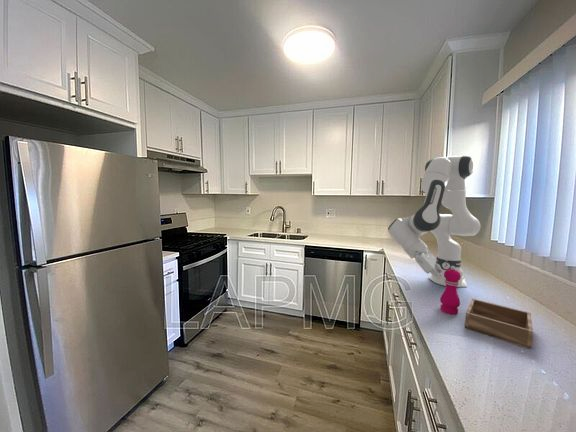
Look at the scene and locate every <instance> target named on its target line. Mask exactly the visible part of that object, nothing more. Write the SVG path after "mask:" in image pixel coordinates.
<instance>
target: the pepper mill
mask: <svg viewBox="0 0 576 432" xmlns="http://www.w3.org/2000/svg"><path fill="white" fill-rule="evenodd" d="M450 268H451V269H448V270H446V271H445V272H444V277H445V278H446V279H445V283H446V286H445V288H444V291H443V293H442V294H441V295H440V298H439V299H440V300H439V301H440V303H441V305H440V310H441V311H442V312H443V313H446V314H448V315H458V313H459V308H458V307H460V305H461V301H460V297H459V295H458V287H457V286H458V285H459V284H458V283H459V282H458V281H459V280H460V278H461V275H460V273H459V272H458V271H457V270H455V267H454V266H451V267H450Z"/></svg>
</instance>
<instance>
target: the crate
mask: <svg viewBox="0 0 576 432" xmlns="http://www.w3.org/2000/svg"><path fill="white" fill-rule="evenodd" d="M464 319H465V320H464V321H465V322H464V329H466V330H469V331H472V332H476V333H478V334H479V333H480V334H482V335H485V336H489V337H491V338H495V339H498V340H501V341H504V342H507V343H511V344H513V343H514V344H513V345H516V344H517V346H520V347H524V348H525V349H526V348H527V349H528V350H532V343H533V336H534V328H533V321H532V319H533V318H532V313H531V312H528V311H524V310H520V309H516V308H513V307H508V306H504V305H500V304H496V303H493V302H492V303H491V302H489V301H484V300H479V299H476V298H471V300H470V302H469V305H468V307H467V309H466V312H465V318H464Z"/></svg>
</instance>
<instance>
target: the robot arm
mask: <svg viewBox="0 0 576 432" xmlns="http://www.w3.org/2000/svg"><path fill="white" fill-rule="evenodd" d="M475 164H476V163H475V159H474V158H473V157H472V156H470V155H458V156H457V155H454V156H453V155H451V156H444V157H439V156H438V157H435V158H431V159H429V160H428V161H427V162H426V163H425V166H424V174H423V176H422V178H421V179H422V180H421V183H420V188H421V190H422V191H423V193H425V194H426V196H425V198H424V201H423V205H422V206H421V207H420V208H419V209H418V210H417V211H416V212H415V213H414V214H413V215H410V216H407V217H401V218H400V217H397V218H395V219H394V220H393V221H392V222H391V224H389V226H388V228H387V231H388V233H389V235H390V236H391V238H393V240H394V242H396V244H398V245H400V246H401V248H402V249H403V251H404V253H406V254H407V255H408V257H409V258H410V259H411V260H412V259H415V262H416V263H417V264H418V265H419V267H420V268H421V269H422V270H423V272H424V273H426V274H431V275H429V276H428V278H427V279H428V280H430V281H432V282H433V283H435V284H437V285H441V286H445V287H446V283H445V279H446V278H445V277H444V272H445V271H446V270H448V269H451V268H450V267H451V266H454V267H455V270H457V271H458V272H459V273H460V275H461V278H460V280H459V281H458V282H459V283H458V284H459V285H458V286H457V288H467V286H468V285H467V281H466V279H465V277H464V271H463V269H462V259H461V257H462V256H461V255H462V246H461V245H460V243H459V242H457V241H455V240H453V239H452V237H451V235H452V236H460V237H461V236H462V237H469V236H470V237H473V236H476V235H477V234H479V232H480V230H481V222H480V220H479V219H478V218H477V217H476V216H474V215H473V214H472V213H471V212H470V211H469V208H468V207H467V203H466V201H467V199H466V196H467V195H466V193H467V178H468V177H470V176H471V175H473V172H474V169H475V166H476V165H475ZM441 205H442V206H443V207H444V208H446V209H448V210H450V211H451V213H452V214H447V213H445V214H444V213H443V214H442V213H440V210H441ZM429 232H431V233H432V235H433V236H434V238H435V240H436V243H437V256H435V255H434V254H433V253H432V251H430V249H429V246H428V244H426V243H425V242H424V241H423V240H422V239H421V238H420V236H424V235H425V234H427V233H429Z"/></svg>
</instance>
